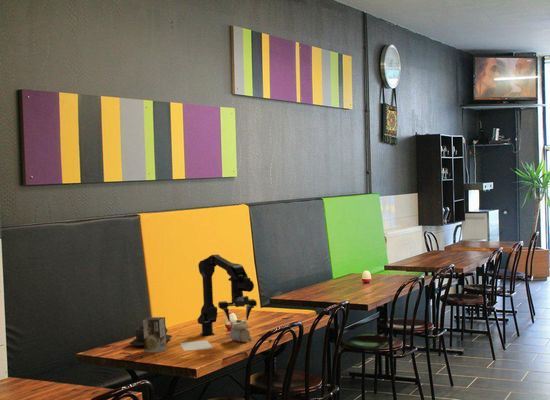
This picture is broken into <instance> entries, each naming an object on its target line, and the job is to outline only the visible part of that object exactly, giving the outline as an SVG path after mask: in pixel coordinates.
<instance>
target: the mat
mask: <svg viewBox="0 0 550 400" xmlns="http://www.w3.org/2000/svg"><path fill="white" fill-rule="evenodd" d="M179 344H180V346H181V348H182V349H183V351H184V352H185V351H196V350H208V349H214V347H213V346H212V345H211V343H209V341H208V340H201V341H200V340H197V341H188V342H187V341H186V342H179Z"/></svg>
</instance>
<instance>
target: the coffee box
mask: <svg viewBox="0 0 550 400" xmlns="http://www.w3.org/2000/svg"><path fill="white" fill-rule="evenodd" d="M142 324H143V325H142V326H143V328H144V353H162V352H164V351H166V350H167V349H168V348H167V341H166V335H167V333H166V329H167V326H166V317H164V316H163V317H161V316H148V317H147V318H144V319H142ZM165 326H166V327H165Z"/></svg>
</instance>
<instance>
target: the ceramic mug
mask: <svg viewBox="0 0 550 400" xmlns="http://www.w3.org/2000/svg"><path fill="white" fill-rule="evenodd" d="M229 337H230V339H231V340H232V341H235V342H239V343H247V342H248V341H249V340H253V336H251V333H250V331H249V329H248V328H244V329H233V327H232V326H231V328H230V331H229Z"/></svg>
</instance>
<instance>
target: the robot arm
mask: <svg viewBox="0 0 550 400" xmlns="http://www.w3.org/2000/svg"><path fill="white" fill-rule="evenodd" d="M217 266H218V267H219V268H222V269H223V270H225V271H226V274H227V275H228V276H229V278H228V281H229V282H230V292H231V293H230V294H231V302H227V300H223V301H219V302H218V303H217V304H218V305H217V306H215V304H214V295H213V294H214V293H213V292H214V291H213V275H214V273H215V270H216V267H217ZM197 267H198V270H199V274H200V275H201V277H202V294H203V295H202V296H203V297H202V298H203V304H202V307H201V308H200V314H199V316H198V318H197V324H199V325H201V332H200V335H201V336H202V337H203V336H204V337H205V336H206V337H207V336H215V333H214V329H213V323H216V322H217V317H218V315H219V313H218V308H219V309H220V310H222V311H223V312H224V313H225V316H226V318H227V321H228V322H229V323H230V320H231V319H230V313H229V312H230V310H229V307H236V308H239V307H245V306H246V307H245V308H246V309H245V310H246V311H245V319H246V320H245V321H248V320H249V316H250V314H251V311H252V309H254V308H255V307H257V306H258V305H257V300H256V299H254V298H250V299H249V296H248V295H244V292H247V293H250V292H252V291H253V290H254V288H255V284H254V282H253V281H252V280H251V278H250V277H249V276H248V274H247V271H246V270H245V268H244V266H243V264H239V263H233V262H231V261H229V260H228V259H226V258H224V257H222V256H220V254H211V255H209V256H207V258H203V260H200V261H199V262H198V265H197Z"/></svg>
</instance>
